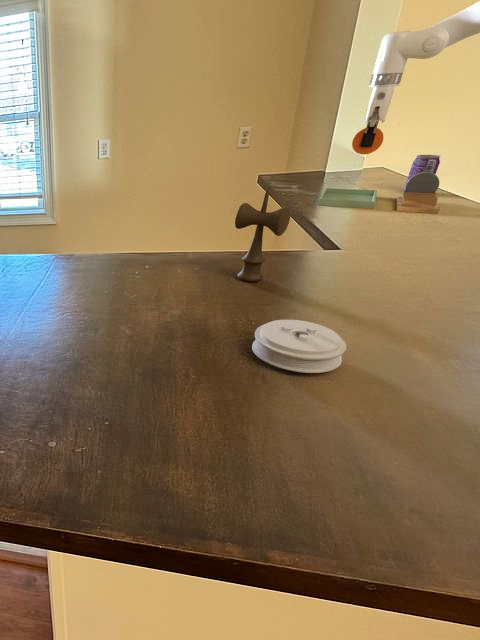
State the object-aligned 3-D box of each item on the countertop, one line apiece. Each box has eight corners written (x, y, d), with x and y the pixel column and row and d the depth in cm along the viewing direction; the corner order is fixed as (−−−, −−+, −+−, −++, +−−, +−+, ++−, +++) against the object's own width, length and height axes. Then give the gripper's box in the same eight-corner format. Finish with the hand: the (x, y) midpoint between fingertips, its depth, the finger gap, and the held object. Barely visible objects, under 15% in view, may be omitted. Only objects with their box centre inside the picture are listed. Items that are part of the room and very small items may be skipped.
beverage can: (431, 192, 165) (445, 155, 159) (423, 196, 162) (437, 158, 156) (407, 190, 170) (420, 154, 164) (398, 193, 167) (411, 156, 161)
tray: (323, 194, 174) (325, 188, 173) (374, 196, 166) (376, 190, 165) (317, 205, 160) (319, 198, 159) (373, 208, 152) (375, 201, 151)
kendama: (266, 288, 103) (287, 192, 93) (222, 278, 110) (238, 187, 100) (277, 280, 107) (299, 186, 97) (234, 271, 113) (250, 183, 103)
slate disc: (402, 198, 155) (410, 171, 151) (434, 198, 151) (443, 171, 147) (402, 198, 154) (410, 172, 151) (434, 199, 150) (443, 172, 146)
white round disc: (245, 337, 85) (251, 311, 82) (327, 342, 81) (335, 316, 79) (257, 374, 75) (263, 346, 72) (351, 382, 71) (361, 352, 68)
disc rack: (396, 200, 159) (400, 188, 157) (434, 202, 154) (439, 190, 152) (396, 211, 148) (400, 198, 146) (438, 213, 143) (442, 200, 141)
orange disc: (348, 153, 157) (357, 126, 153) (378, 154, 153) (387, 127, 149) (348, 153, 157) (356, 126, 152) (378, 155, 152) (387, 127, 148)
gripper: (401, 80, 137) (379, 150, 146) (400, 79, 148) (380, 143, 157) (369, 82, 141) (350, 149, 150) (371, 80, 152) (353, 143, 161)
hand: (365, 146), depth 154 cm, fingers closed on orange disc, 1 cm apart
